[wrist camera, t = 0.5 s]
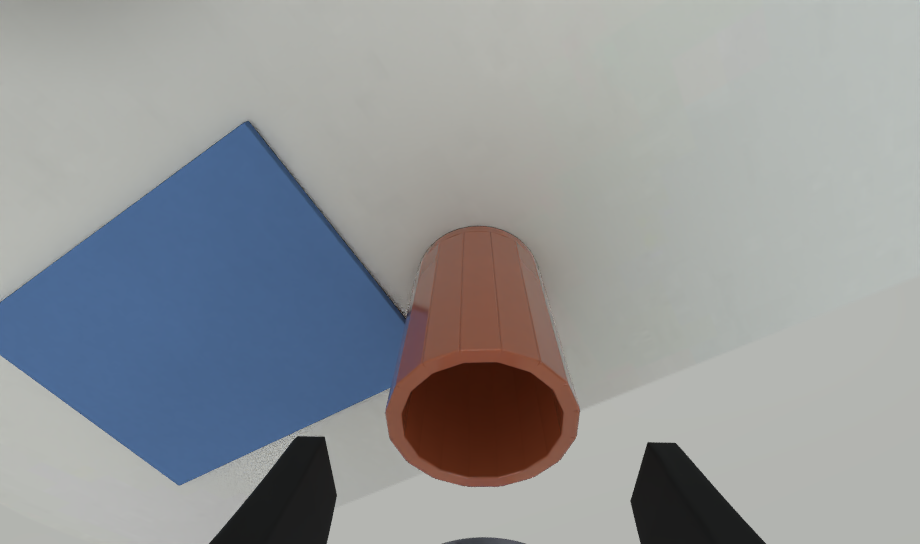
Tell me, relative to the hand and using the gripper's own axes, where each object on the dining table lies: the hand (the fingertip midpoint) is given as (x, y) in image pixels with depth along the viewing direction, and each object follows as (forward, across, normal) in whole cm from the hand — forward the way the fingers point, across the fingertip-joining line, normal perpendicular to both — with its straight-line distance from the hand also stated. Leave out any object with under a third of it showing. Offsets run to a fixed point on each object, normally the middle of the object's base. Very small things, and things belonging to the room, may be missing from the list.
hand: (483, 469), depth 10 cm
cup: (+10, 0, +1) cm, 10 cm away
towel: (+10, +13, +4) cm, 17 cm away
